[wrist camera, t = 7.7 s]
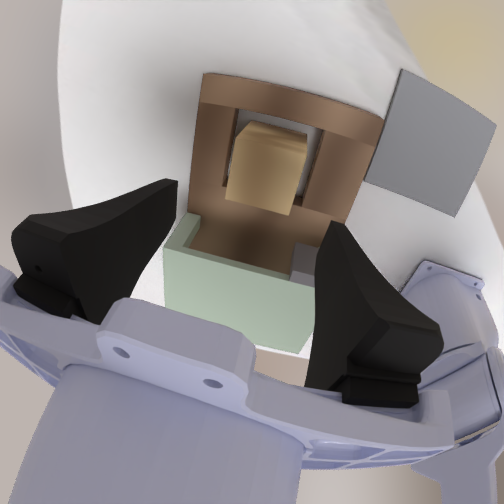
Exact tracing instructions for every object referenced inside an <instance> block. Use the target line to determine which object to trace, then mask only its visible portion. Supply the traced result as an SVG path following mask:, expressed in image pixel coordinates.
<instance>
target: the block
mask: <svg viewBox="0 0 504 504" xmlns="http://www.w3.org/2000/svg"><path fill="white" fill-rule="evenodd" d="M306 158H307V134H304V133H301V132H297V131H294V130H290V129H286V128H282V127H278V126H274V125H270V124H266V123H262V122H257V121H253V120H251V121H250V122H249V124H248V125H247V126H246V127H245V128H244V129H243V130H242V131H241V132H240V133H239V135H238V136H237V137H236V139H235V144H234V150H233V155H232V161H231V166H230V172H229V178H228V183H227V189H226V195H225V199H227V200H231V201H235V202H239V203H242V204H246V205H250V206H254V207H258V208H262V209H266V210H269V211H273V212H277V213H280V214H284V215H288V216H289V213H290V210H291V206H292V203H293V200H294V197H295V194H296V190H297V187H298V184H299V181H300V177H301V174H302V171H303V168H304V164H305V161H306Z"/></svg>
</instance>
